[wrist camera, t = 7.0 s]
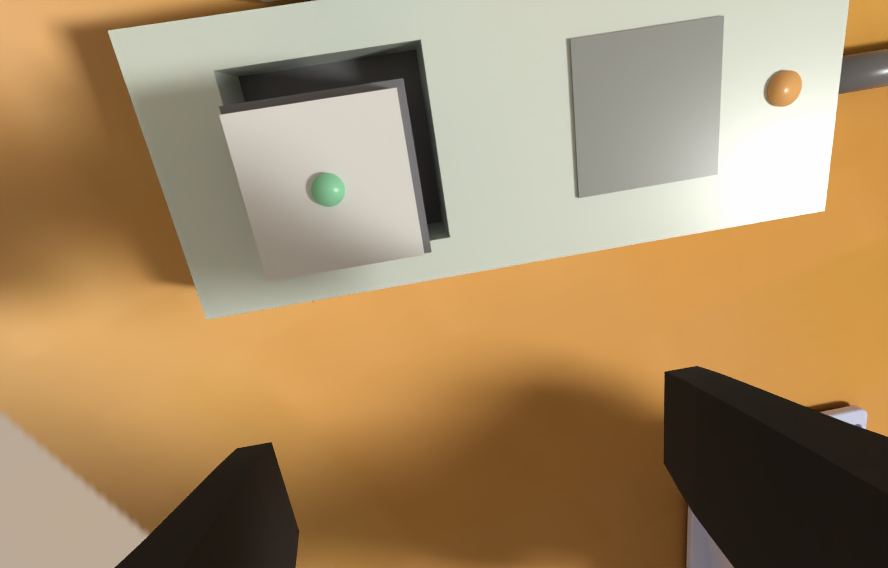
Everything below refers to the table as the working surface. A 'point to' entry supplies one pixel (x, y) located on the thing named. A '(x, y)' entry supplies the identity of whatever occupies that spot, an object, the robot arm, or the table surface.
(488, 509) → the table surface
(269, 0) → the small box
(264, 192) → the plug
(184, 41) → the power strip
